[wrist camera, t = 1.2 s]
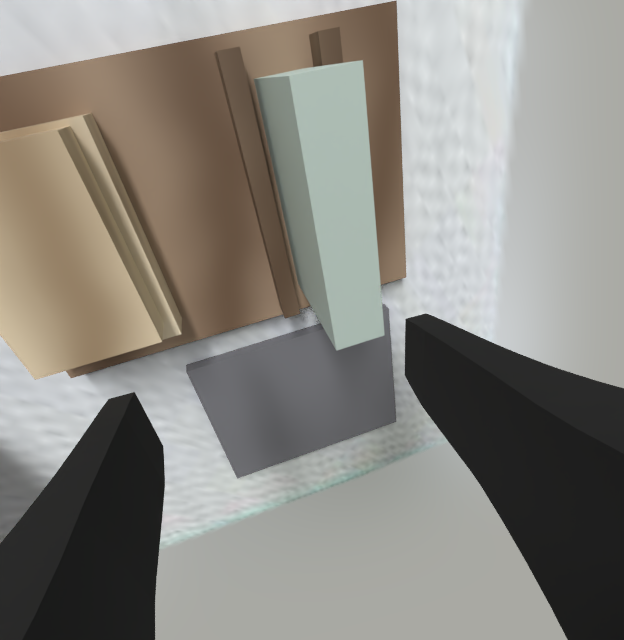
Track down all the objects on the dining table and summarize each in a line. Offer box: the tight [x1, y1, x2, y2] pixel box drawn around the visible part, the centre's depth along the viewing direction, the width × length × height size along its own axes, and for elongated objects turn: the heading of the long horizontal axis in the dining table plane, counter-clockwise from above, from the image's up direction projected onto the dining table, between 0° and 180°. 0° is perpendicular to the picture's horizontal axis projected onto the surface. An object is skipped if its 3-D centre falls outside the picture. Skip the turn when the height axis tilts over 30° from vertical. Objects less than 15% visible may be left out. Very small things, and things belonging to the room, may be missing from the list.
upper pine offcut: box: [0, 126, 164, 380], centre depth 14 cm, size 5×8×2 cm, turn 11°
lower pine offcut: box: [0, 113, 182, 340], centre depth 15 cm, size 6×9×2 cm, turn 11°
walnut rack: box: [0, 1, 406, 378], centre depth 17 cm, size 18×12×2 cm, turn 100°
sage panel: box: [254, 60, 385, 351], centre depth 15 cm, size 2×9×6 cm, turn 11°
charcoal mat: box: [186, 304, 396, 478], centre depth 25 cm, size 12×10×1 cm
